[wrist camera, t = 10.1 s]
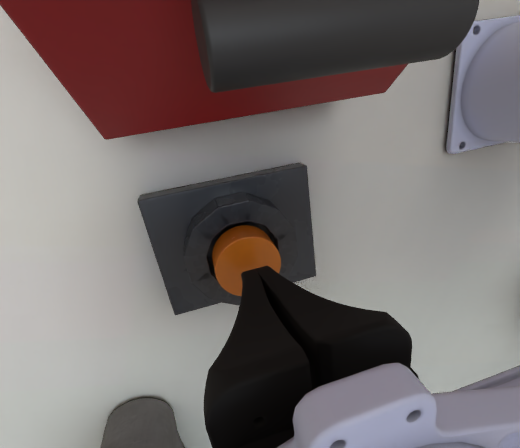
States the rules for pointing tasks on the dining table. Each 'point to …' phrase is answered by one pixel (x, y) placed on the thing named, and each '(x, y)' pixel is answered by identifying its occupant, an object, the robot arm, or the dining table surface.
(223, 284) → the power button
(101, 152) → the dining table surface
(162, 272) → the switch box
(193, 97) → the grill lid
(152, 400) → the flask
